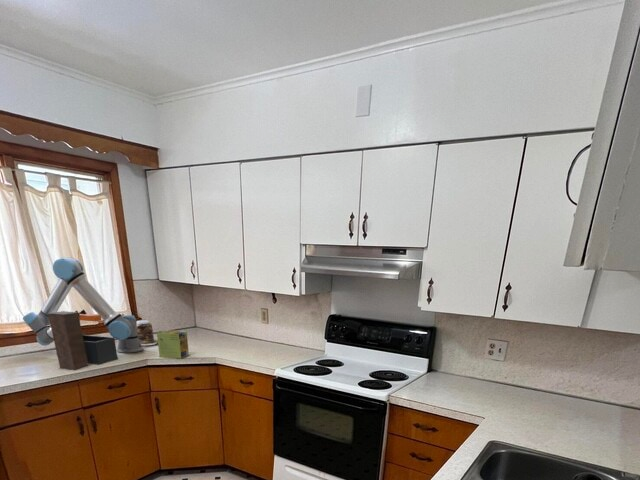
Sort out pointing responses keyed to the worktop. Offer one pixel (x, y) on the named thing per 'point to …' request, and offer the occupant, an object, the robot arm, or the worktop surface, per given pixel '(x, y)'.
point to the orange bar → (89, 317)
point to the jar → (145, 331)
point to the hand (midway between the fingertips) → (81, 312)
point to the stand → (68, 340)
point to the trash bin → (99, 349)
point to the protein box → (172, 344)
